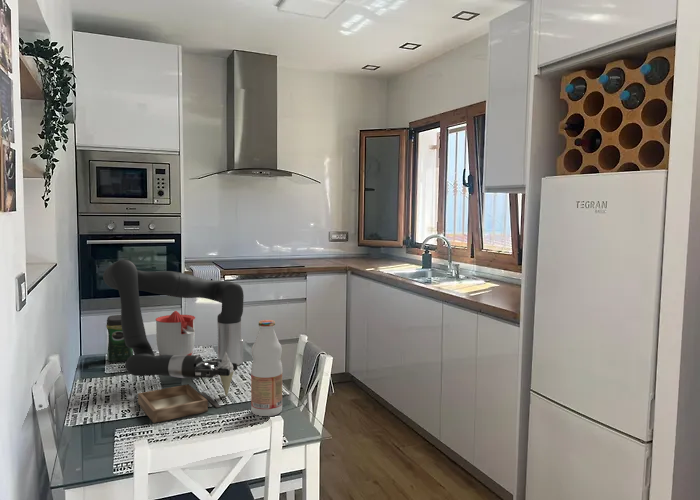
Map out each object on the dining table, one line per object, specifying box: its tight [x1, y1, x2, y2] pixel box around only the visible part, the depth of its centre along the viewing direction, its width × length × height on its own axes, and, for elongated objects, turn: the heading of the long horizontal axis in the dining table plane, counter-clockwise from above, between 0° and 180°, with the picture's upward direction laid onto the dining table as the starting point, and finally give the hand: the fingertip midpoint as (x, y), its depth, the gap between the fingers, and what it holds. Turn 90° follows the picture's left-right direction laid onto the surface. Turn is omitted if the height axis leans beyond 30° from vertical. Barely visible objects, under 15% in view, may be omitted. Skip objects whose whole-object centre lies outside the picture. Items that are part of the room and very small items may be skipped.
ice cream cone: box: [217, 351, 235, 397], centre depth 172 cm, size 5×5×15 cm
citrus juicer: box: [155, 310, 196, 355], centre depth 215 cm, size 16×17×20 cm
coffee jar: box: [105, 314, 134, 363], centre depth 213 cm, size 10×8×19 cm
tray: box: [137, 383, 222, 424], centre depth 163 cm, size 21×18×4 cm
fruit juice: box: [250, 319, 283, 417], centre depth 158 cm, size 9×9×28 cm
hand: (233, 369), depth 172 cm, fingers open, 5 cm apart
